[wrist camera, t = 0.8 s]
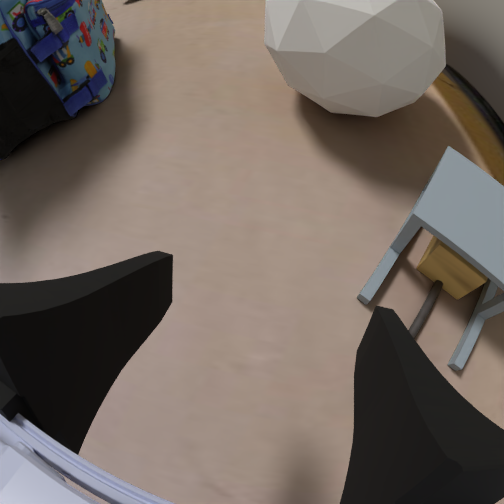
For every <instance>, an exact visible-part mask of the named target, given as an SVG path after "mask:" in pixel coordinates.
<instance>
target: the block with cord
mask: <svg viewBox="0 0 504 504" xmlns="http://www.w3.org/2000/svg"><path fill="white" fill-rule="evenodd" d="M416 269H417V270H419V271H420V272H421V273H423V274H424V275H425V276H427V277H428V278H429V279H431V280H432V281H433V282H435V283H434V285H433V287H432V289H431V291H430V293H429V295H428V297H427V298H426V300H425V302H424V304H423V306H422V308H421V309H420V311H419V313H418V315H417V317H416V318H415V320H414V322H413V324H412V325H411V327H410V329H409V330H408V331H409V332H410V334H411V335H412V337H413V338H415V337H416V335H417V333H418V331H419V330H420V328H421V326H422V324H423V323H424V321H425V319H426V317H427V315H428V313H429V312H430V310H431V308H432V306H433V304H434V302H435V300H436V298H437V296H438V294H439V292H440V290H441V288H442V289H444V290H445V291H446V292H448V293H449V294H450V295H452V296H453V297H454V298H455V299H457V300H458V299H460V298H461V297H463V296H465V295H466V294H468V293H470V292H471V291H473V290H474V289H476V288H478V287H479V286H481V285H482V284H484V283H485V282H486V281H487V279H488V277H486V276H485V275H484V274H483V273H482V272H480V271H479V270H478V269H477V268H475V267H474V266H473V265H472V264H471V263H469V262H468V261H467V260H466V259H464V258H463V257H462V256H460V255H459V254H458V253H457V252H455V251H454V250H453V249H451V248H450V247H449V246H447V245H446V244H445V243H443V242H442V241H441V240H439V239H438V238H437V237H435V236H433V238H432V240H431V242H430V244H429V245H428V247H427V249H426V251H425V253H424V255H423V257H422V259H421V261H420V263H419V264H418V266H417V268H416Z"/></svg>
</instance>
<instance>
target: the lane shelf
mask: <svg viewBox="0 0 504 504" xmlns="http://www.w3.org/2000/svg"><path fill="white" fill-rule="evenodd" d="M421 226H422V227H423V228H424V229H426V230H427V231H429V232H430V233H431V234H433V235H434V236H435V237H437V238H438V239H439V240H441V241H442V242H443V243H445V244H446V245H447V246H449V247H450V248H451V249H453V250H454V251H455V252H457V253H458V254H459V255H460V256H462V257H463V258H464V259H466V260H467V261H468V262H469V263H471V264H472V265H473V266H474V267H475V268H477V269H478V270H479V271H480V272H482V273H483V274H484V275H485V276H486V277H488V279H487V281H486V282H485V285H484V287H483V290H482V292H481V295H480V297H479V300H478V302H477V305H476V307H475V309H474V312H473V314H472V316H471V318H470V321H469V323H468V325H467V327H466V329H465V331H464V334H463V336H462V338H461V340H460V342H459V344H458V346H457V348H456V350H455V352H454V354H453V355H452V357H451V359H450V361H449V363H448V366H450V367H451V368H452V369H454V370H455V371H456V370H462V368H463V367H464V365H465V363H466V361H467V359H468V357H469V355H470V352H471V350H472V348H473V346H474V344H475V342H476V340H477V338H478V335H479V333H480V331H481V329H482V326H483V324H484V321H485V320H486V319H488V318H490V317H493V316H495V315H497V314H499V313H501V312H504V293H502V294H500V295H498V296H497V297H495V298H494V296H495V293H496V291H497V288H498V287H499V288H501V289H502V290H503V291H504V186H502V185H501V184H500V183H499V182H497V181H496V180H495V179H494V178H492V177H491V176H490V175H489V174H487V173H486V172H485V171H483V170H482V169H481V168H479V167H478V166H477V165H475V164H474V163H473V162H471V161H470V160H468V159H467V158H466V157H464V156H463V155H461V154H460V153H458V152H457V151H456V150H454V149H453V148H451V147H450V146H448V147H447V149H446V151H445V153H444V155H443V156H442V158H441V160H440V162H439V163H438V165H437V167H436V169H435V170H434V172H433V174H432V176H431V177H430V179H429V181H428V182H427V184H426V186H425V187H424V189H423V191H422V193H421V194H420V196H419V198H418V200H417V202H416V203H415V205H414V207H413V209H412V211H411V212H410V214H409V216H408V217H407V219H406V221H405V223H404V224H403V226H402V228H401V229H400V231H399V233H398V234H397V236H396V238H395V239H394V241H393V243H392V244H391V246H390V247H389V249H388V251H387V252H386V254H385V255H384V257H383V259H382V260H381V262H380V263H379V265H378V266H377V268H376V270H375V271H374V273H373V274H372V276H371V277H370V279H369V280H368V282H367V283H366V285H365V286H364V288H363V289H362V291H361V292H360V294H359V295H358V296H357V298H358V299H359V300H360V301H362V302H363V303H364V304H366V305H367V304H368V303H369V302H370V300H371V299H372V297H373V296H374V294H375V293H376V291H377V290H378V288H379V286H380V285H381V283H382V282H383V280H384V279H385V277H386V275H387V274H388V272H389V271H390V269H391V267H392V266H393V264H394V262H395V261H396V259H397V257H398V256H399V254H400V253H401V251H402V250H403V249H404V248H405V246H406V245H407V244H408V243H409V241H410V240H411V239H412V237H413V236H414V235H415V234H416V232H417V231H418V230H419V228H420V227H421Z"/></svg>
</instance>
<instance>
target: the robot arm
mask: <svg viewBox="0 0 504 504" xmlns="http://www.w3.org/2000/svg"><path fill="white" fill-rule="evenodd" d="M172 270H173V255H172V254H168V253H164V252H161V251H155V252H150V253H147V254H143V255H140V256H137V257H134V258H131V259H128V260H125V261H122V262H119V263H116V264H113V265H110V266H106V267H103V268H99V269H96V270H93V271H89V272H86V273H82V274H78V275H74V276H69V277H64V278H59V279H53V280H45V281H37V282H28V283H0V504H100V503H98V502H97V501H95V500H93V499H91V498H90V497H88V496H86V495H85V494H83V493H82V492H80V491H78V490H77V489H75V488H74V487H72V486H70V485H69V484H67V483H66V481H65V479H64V478H63V476H62V475H64V476H65V477H67V478H68V479H70V480H71V481H73V482H75V483H76V484H78V485H79V486H81V487H83V488H84V489H86V490H88V491H89V492H91V493H93V494H94V495H96V496H98V497H100V498H101V499H103V500H105V501H107V502H109V503H110V504H175V503H173V502H170V501H168V500H165V499H163V498H160V497H158V496H156V495H153V494H151V493H149V492H147V491H144V490H142V489H140V488H138V487H136V486H134V485H132V484H130V483H127V482H125V481H123V480H121V479H120V478H118V477H116V476H114V475H112V474H110V473H108V472H106V471H104V470H103V469H101V468H99V467H97V466H96V465H94V464H92V463H90V462H89V461H87V460H85V459H84V458H82V457H80V456H79V455H78V454H79V451H80V448H81V446H82V444H83V441H84V439H85V437H86V434H87V432H88V430H89V428H90V426H91V424H92V421H93V419H94V417H95V415H96V413H97V411H98V409H99V408H100V406H101V404H102V402H103V400H104V399H105V397H106V395H107V393H108V391H109V390H110V388H111V386H112V385H113V383H114V381H115V380H116V378H117V377H118V375H119V373H120V372H121V370H122V369H123V368H124V366H125V365H126V363H127V362H128V361H129V360H130V358H131V357H132V356H133V355H134V354H135V352H136V351H137V350H138V349H139V347H140V346H141V345H142V344H143V343H144V341H145V340H146V339H147V338H148V337H149V335H150V334H151V333H152V332H153V330H154V329H155V328H156V327H157V325H158V324H159V323H160V321H161V320H162V318H163V317H164V315H165V313H166V312H167V310H168V308H169V307H170V305H171V303H172ZM50 466H51V467H50ZM53 468H54V469H55V470H57V471H58V472H59V473H61V474H62V475H60V474H59V473H58V472H57V471H55V470H54V469H53ZM503 497H504V430H503V429H502V428H500V427H499V426H497V425H496V424H495V423H493V422H492V421H491V420H489V419H488V418H487V417H485V416H484V415H483V414H482V413H480V412H479V411H478V410H477V409H476V408H475V407H473V406H472V405H471V404H470V403H469V402H468V401H467V400H466V399H465V398H463V397H462V396H461V395H460V394H459V393H458V392H457V391H456V390H455V389H454V388H453V386H452V385H451V384H450V383H449V382H448V381H447V380H446V379H445V378H444V377H443V376H442V374H441V373H440V372H439V371H438V370H437V369H436V367H435V366H434V365H433V364H432V362H431V361H430V360H429V358H428V357H427V356H426V355H425V353H424V352H423V351H422V349H421V348H420V346H419V345H418V344H417V342H416V341H415V340H414V338H413V337H412V335H411V334H410V332H409V331H408V330H407V328H406V327H405V325H404V324H403V322H402V321H401V320H400V318H399V317H398V315H397V314H396V313H395V312H394V310H393V309H389V308H384V307H380V306H376V307H375V310H374V312H373V315H372V317H371V319H370V322H369V324H368V327H367V329H366V331H365V334H364V336H363V338H362V341H361V343H360V345H359V347H358V350H357V355H356V363H355V372H354V433H353V443H352V450H351V456H350V462H349V467H348V472H347V477H346V481H345V486H344V490H343V494H342V498H341V501H340V504H495V503H496V502H498V501H499V500H501V499H502V498H503Z"/></svg>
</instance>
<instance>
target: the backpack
mask: <svg viewBox="0 0 504 504" xmlns="http://www.w3.org/2000/svg"><path fill="white" fill-rule="evenodd" d="M112 24H113V22H112V20H111V18H110V16H109V14H107V13H106V11H105V8H104V5H103V3H102V0H0V160H2V159H4V158H6V157H7V156H8V155H9V153H10V152H11V151H12V150H13V149H14V148H15V147H16V146H17V145H18V144H19V143H20V142H22V141H24V140H25V139H27V138H28V137H30V136H31V135H32V134H34V133H36V132H38V131H39V130H41V129H43V128H45V127H48V126H49V125H51V124H52V123H55V122H59V121H63V120H68V119H72V118H74V117H75V116H76V115H77V112H78V110H79V109H80V108H82V107H83V106H89V105H95V104H98V103H100V102H102V101H103V100H105V99H106V98H107V96H108V95H109V93H110V91H111V89H112V86H113V83H114V77H115V57H114V52H115V46H114V36H115V29H114V26H113V25H112Z"/></svg>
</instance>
